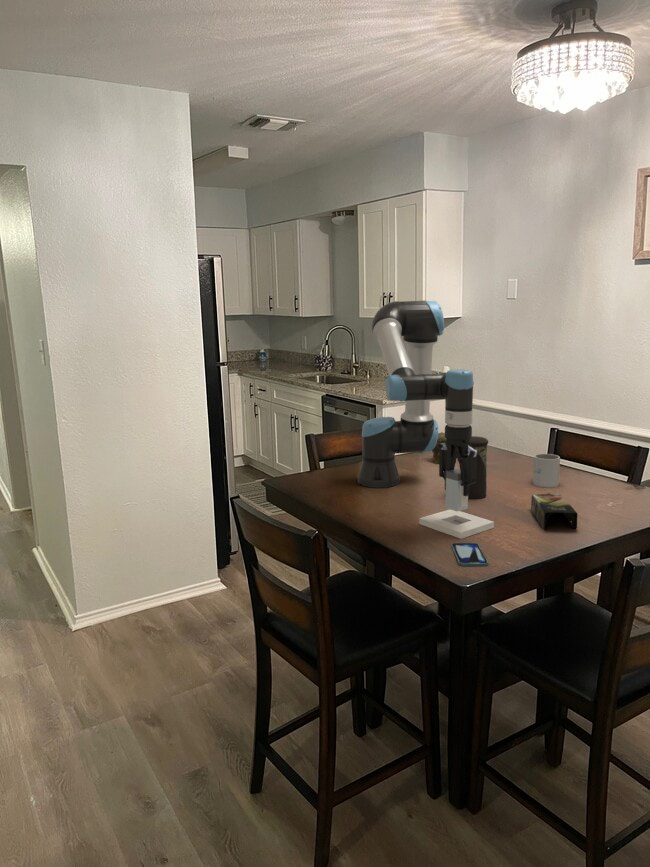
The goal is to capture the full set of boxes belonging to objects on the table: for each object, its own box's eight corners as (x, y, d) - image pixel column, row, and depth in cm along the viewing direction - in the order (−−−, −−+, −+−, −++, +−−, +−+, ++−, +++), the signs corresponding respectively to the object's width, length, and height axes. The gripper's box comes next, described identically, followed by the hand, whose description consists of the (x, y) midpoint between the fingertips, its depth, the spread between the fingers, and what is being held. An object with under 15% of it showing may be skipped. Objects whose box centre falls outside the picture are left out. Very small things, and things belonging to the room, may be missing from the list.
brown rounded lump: (460, 459, 271) (461, 431, 268) (454, 465, 261) (455, 436, 259) (435, 457, 275) (435, 429, 273) (427, 463, 265) (428, 434, 263)
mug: (560, 487, 228) (561, 459, 226) (534, 487, 230) (535, 459, 228) (555, 478, 240) (556, 451, 238) (530, 477, 241) (531, 451, 239)
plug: (445, 507, 191) (446, 471, 189) (456, 504, 194) (456, 468, 192) (457, 511, 188) (457, 474, 185) (467, 508, 190) (468, 471, 188)
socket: (419, 524, 194) (419, 518, 194) (452, 514, 202) (452, 508, 202) (460, 538, 181) (461, 532, 181) (493, 527, 190) (494, 521, 189)
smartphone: (478, 542, 177) (489, 563, 163) (477, 546, 177) (489, 567, 163) (450, 542, 178) (459, 563, 163) (450, 546, 178) (459, 567, 163)
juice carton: (528, 509, 206) (529, 490, 205) (560, 509, 205) (561, 491, 204) (542, 532, 187) (543, 511, 186) (578, 532, 186) (579, 512, 185)
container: (487, 499, 216) (489, 440, 212) (459, 498, 218) (460, 439, 214) (486, 492, 224) (488, 434, 220) (459, 491, 226) (460, 434, 222)
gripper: (426, 422, 191) (425, 499, 195) (473, 431, 177) (471, 514, 181) (444, 419, 195) (443, 495, 200) (491, 427, 181) (489, 508, 186)
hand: (456, 503), depth 190 cm, fingers closed on plug, 4 cm apart
